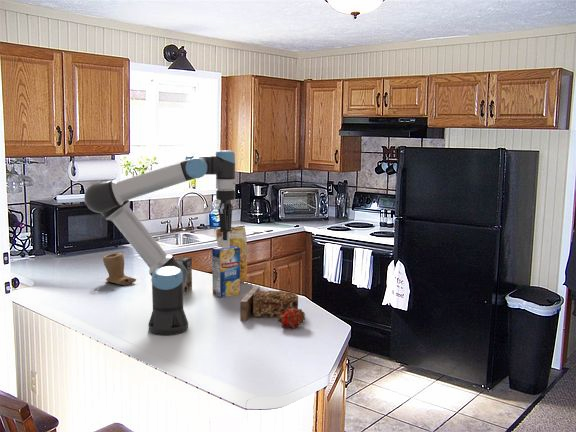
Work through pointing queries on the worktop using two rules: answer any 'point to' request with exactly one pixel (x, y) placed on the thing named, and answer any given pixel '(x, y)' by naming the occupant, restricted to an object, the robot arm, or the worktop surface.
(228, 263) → the beverage box
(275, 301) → the bread
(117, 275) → the tan boot figurine
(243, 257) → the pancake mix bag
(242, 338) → the worktop surface
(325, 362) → the worktop surface
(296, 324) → the dragon fruit
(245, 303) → the walnut board
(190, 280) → the coffee box
